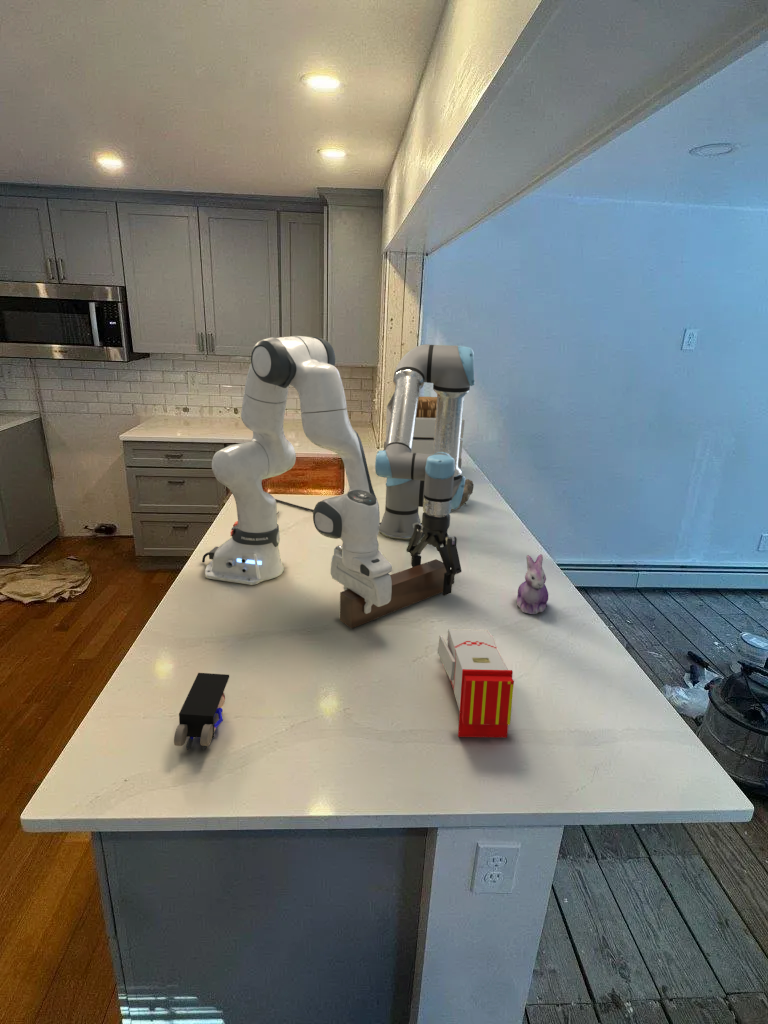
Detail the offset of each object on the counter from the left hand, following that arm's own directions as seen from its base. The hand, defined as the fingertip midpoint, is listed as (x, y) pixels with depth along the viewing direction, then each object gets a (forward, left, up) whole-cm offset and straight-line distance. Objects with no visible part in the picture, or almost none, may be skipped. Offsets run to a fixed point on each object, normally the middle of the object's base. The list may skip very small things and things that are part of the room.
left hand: (358, 607), depth 143 cm
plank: (+10, +9, -4) cm, 13 cm away
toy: (+25, -27, -4) cm, 37 cm away
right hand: (+19, +17, -2) cm, 26 cm away
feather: (-35, +72, -4) cm, 80 cm away
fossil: (+34, +95, -4) cm, 101 cm away
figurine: (+47, +11, -4) cm, 48 cm away
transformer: (+20, +139, -4) cm, 141 cm away
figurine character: (-26, -42, -4) cm, 49 cm away
